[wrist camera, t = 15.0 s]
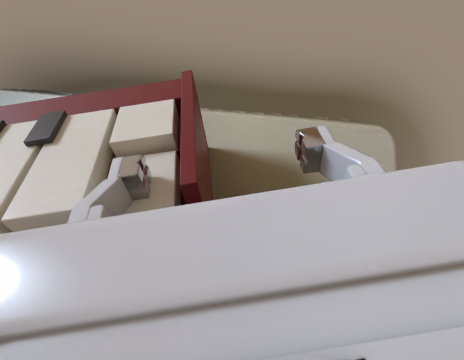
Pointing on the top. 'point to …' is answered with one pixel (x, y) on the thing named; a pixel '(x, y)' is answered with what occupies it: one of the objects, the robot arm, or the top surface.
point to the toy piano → (95, 147)
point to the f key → (161, 183)
